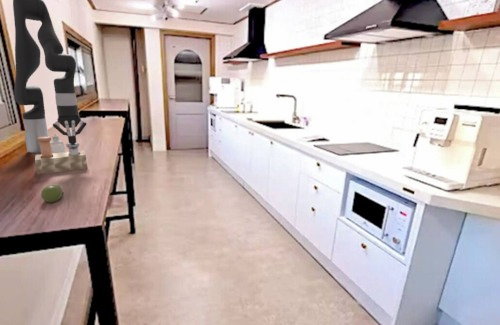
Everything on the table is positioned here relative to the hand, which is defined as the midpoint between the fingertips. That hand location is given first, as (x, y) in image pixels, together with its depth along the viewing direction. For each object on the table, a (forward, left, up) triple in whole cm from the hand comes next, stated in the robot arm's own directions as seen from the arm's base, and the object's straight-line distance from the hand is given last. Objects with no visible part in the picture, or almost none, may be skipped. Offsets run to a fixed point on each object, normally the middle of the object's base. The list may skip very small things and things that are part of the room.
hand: (72, 144), depth 126 cm
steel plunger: (0, 0, -10) cm, 10 cm away
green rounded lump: (+11, -35, -11) cm, 38 cm away
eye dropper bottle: (-16, +14, -11) cm, 24 cm away
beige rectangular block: (-4, -3, -10) cm, 11 cm away
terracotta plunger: (-8, -5, -6) cm, 12 cm away
